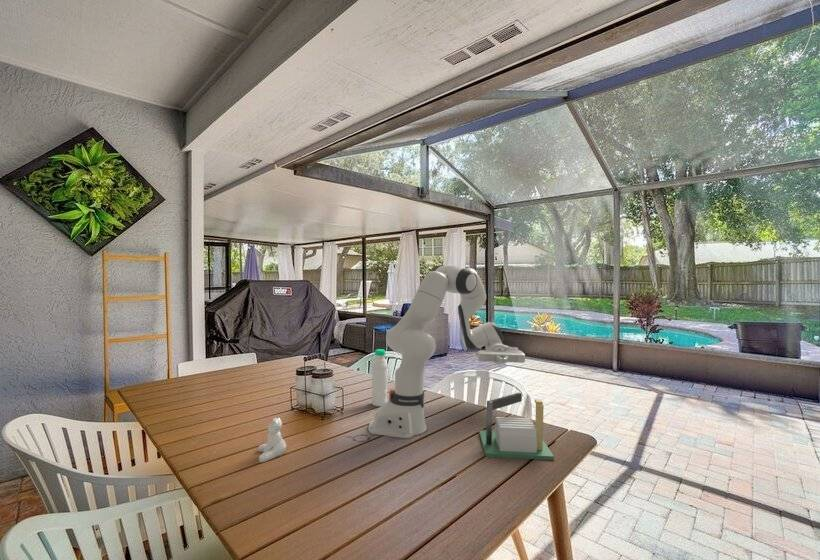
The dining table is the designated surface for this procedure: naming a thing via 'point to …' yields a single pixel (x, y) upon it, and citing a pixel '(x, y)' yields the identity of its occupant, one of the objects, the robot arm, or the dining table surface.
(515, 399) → the retention bar
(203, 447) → the dining table surface
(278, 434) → the white creature statuette
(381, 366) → the water bottle
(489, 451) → the board
